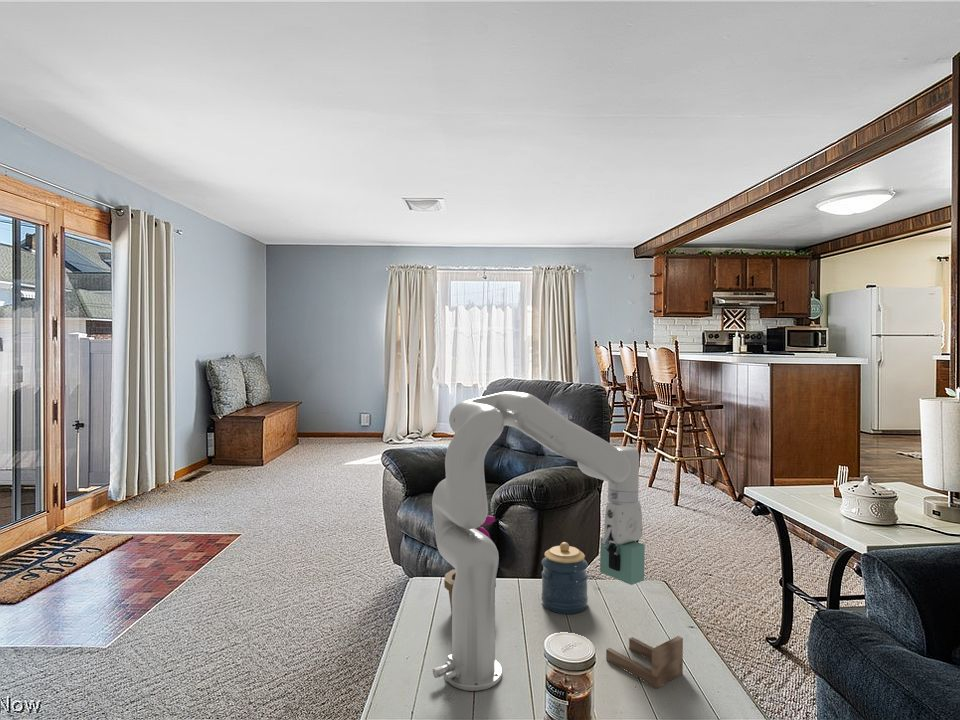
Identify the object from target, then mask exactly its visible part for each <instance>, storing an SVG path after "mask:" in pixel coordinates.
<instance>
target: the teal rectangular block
mask: <svg viewBox="0 0 960 720" xmlns="http://www.w3.org/2000/svg"><path fill="white" fill-rule="evenodd" d="M603 537H604V536H601V537H600V542H601V541H602V539H603ZM615 545H616V544H614V543H613V547H614V548H615ZM645 547H646V546H645V544H644V543H641V542H635V541H633V542H629V543H626V544H621V545H620V549H619V554H618V555H620V571H616V570H613V569H611V568H609V553H608V552H607V549H606V548H605V547H604V546H603V545H602V544H601V543H600V547H599V549H600V552H599V553H600V559H599V572H600V573H601V574H603V575H606V576H608V577H611V578H614V579H615V580H618V581H620V582H623V583H625V584H628V585H630V586H633V585H635V584H637V583H641V582H644V581H645V551H646V550H645Z"/></svg>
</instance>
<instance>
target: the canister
mask: <svg viewBox="0 0 960 720" xmlns="http://www.w3.org/2000/svg"><path fill="white" fill-rule="evenodd" d="M585 557H586V555H585V554H584V552H582V551H581V550H580V549H578V548H577V547H575V546H572V545H571V546H570V545H569V543H568V542H566V541H563V542H561V543H560V545H555V546H552V547H551V548H549V549H547V550H546V551H545V552H544V558H542V560H541V565H542V567H543V570H542V571H541V580H542V582H541V585H542V586H541V587H542V589H541V590H542V591H541V600H542V606H544V607H545V608H546V609H547V610H548V611H551V612H554V613H556V614H566V615H567V614H568V615H570V614H571V615H573V614H578V613H580V612H583V611H585V610H586V609H587V606H588V602H589V599H588V598H589V596H588V576H589V575H588V573H587V569H588V566H589V564H588V562H587V560H586V559H585Z"/></svg>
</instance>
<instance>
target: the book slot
mask: <svg viewBox="0 0 960 720" xmlns="http://www.w3.org/2000/svg"><path fill="white" fill-rule="evenodd" d="M628 641H629V642H628V649H629V650H630V649H631V651H632V650H633V651H632V652H634V651H635V652H634V653H636V654H638V653H639V654H638V655H640V654H641V655H640V656H642V655H643V656H645V657H646V659H647V658H648V659H647V660H649V659H650V660H649V661H651V660H652V661H651V669H649V668H648V667H646V666H644V665H642V664H640V663H638V662H637V661H635V660H633V659H631V658H630V657H627V656H625V655H624V654H623V653H620V652H618V651H616V650H614V649H613V648H611V647H607V649H605V651H606V652H605V655H606V656H605V657H606V659H607V660H609V661H611V662H612V663H614V664H615V665H614V664H613V665H614V666H616V665H617V666H616V667H618V666H619V667H621V668H623V669H625V670H627V671H628V672H630V673H632V674H633V675H635V676H637V677H639V678H641V679H642V680H644V681H645V682H647V683H648V684H647V683H646V684H647V685H649V684H650V685H649V686H651V685H652V686H653V688H654V687H655V688H654V689H656V688H657V689H659V688H660V686H661V685H662V686H664V685H666V684H667V683H666V682H668V681H669V682H671V681H672V680H671V679H673V678H674V679H676V678H678V677H679V676H678V675H680V674H681V675H683V674H684V673H683V672H684V671H683V668H684V667H683V665H684V664H683V663H684V654H683V653H684V652H683V651H684V645H683V644H684V637H681V636H680V635H677V636H675V637H673V638H671V639H669V640H667V641H665V642H663V643H661V644H659V645H657V646H655V647H653V646H652V645H651V646H650V645H649V644H647V643H645V642H643V641H641V640H639V639H637V638H635V637H633V636H631V637H629V638H628ZM643 656H642V657H643ZM645 657H644V658H645ZM606 659H605V660H606ZM607 660H606V661H607ZM609 661H608V662H609ZM611 662H610V663H611ZM612 663H611V664H612ZM619 667H618V668H619ZM621 668H620V669H621ZM623 669H622V670H623ZM625 670H624V671H625ZM628 672H627V673H628ZM630 673H629V674H630ZM682 673H683V674H682ZM633 675H632V676H633ZM681 675H680V676H681ZM635 676H634V677H635ZM677 676H678V677H677ZM637 677H636V678H637ZM675 677H676V678H675ZM674 679H673V680H674ZM642 680H641V681H642ZM670 680H671V681H670ZM644 681H643V682H644ZM645 682H644V683H645ZM669 682H668V683H669ZM665 683H666V684H665ZM663 684H664V685H663ZM652 686H651V687H652ZM662 686H661V687H662ZM658 687H659V688H658Z"/></svg>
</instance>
